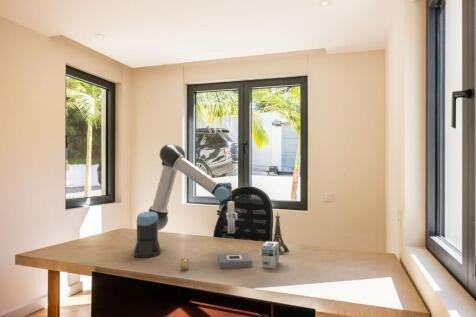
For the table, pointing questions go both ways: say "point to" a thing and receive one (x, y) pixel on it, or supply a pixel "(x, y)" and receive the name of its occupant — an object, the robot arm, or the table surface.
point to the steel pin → (231, 217)
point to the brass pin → (184, 264)
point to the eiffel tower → (278, 235)
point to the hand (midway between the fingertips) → (232, 217)
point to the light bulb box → (270, 254)
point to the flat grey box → (234, 260)
